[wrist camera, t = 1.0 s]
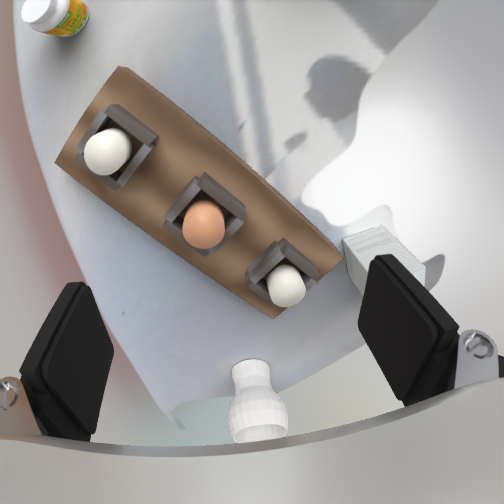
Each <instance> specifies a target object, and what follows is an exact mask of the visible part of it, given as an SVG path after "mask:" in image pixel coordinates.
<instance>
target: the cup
mask: <svg viewBox="0 0 504 504" xmlns="http://www.w3.org/2000/svg"><path fill="white" fill-rule="evenodd" d="M231 374H232V378H233V381H234V384H235V396H234V398H233V400H232V402H231V404H230V408H229V412H228V426H229V429H230V432H231V434H232V437H233V439H234V441H236V442H237V443H245V442H254V441H262V440H269V439H276V438H283V437H284V436H285V435H286V434H287V432H288V414H287V410H286V407H285V405H284V403H283V402H282V400H281V399H280V398H279V396H278V395H277V394H276V393H275V392H274V391H273V389H272V386H271V383H270V367H269V365H268V364H267V363H266V362H264V361H262V360H257V359H249V360H244V361H242V362H239V363H238V364H236V365H235V366H234V367H233V369H232V372H231Z"/></svg>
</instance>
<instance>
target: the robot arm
mask: <svg viewBox="0 0 504 504" xmlns="http://www.w3.org/2000/svg"><path fill="white" fill-rule="evenodd" d="M358 328H359V331H360V332H361V334H362V336H363V338H364V339H365V341H366V343H367V345H368V347H369V348H370V350H371V352H372V354H373V356H374V357H375V359H376V361H377V363H378V365H379V366H380V368H381V370H382V372H383V374H384V375H385V377H386V379H387V381H388V383H389V385H390V387H391V388H392V391H393V392H394V394H395V396H396V398H397V399H398V400H402V402H403V404H404V406H405V407H404V408H401V409H398V410H395V411H392V412H388V413H385V414H382V415H379V416H376V417H372V418H369V419H365V420H362V421H358V422H354V423H351V424H346V425H342V426H339V427H334V428H330V429H325V430H320V431H316V432H311V433H306V434H300V435H295V436H289V437H283V438H276V439H269V440H262V441H254V442H245V443H235V444H223V445H207V446H179V447H160V446H159V447H157V446H156V447H155V446H130V445H116V444H104V443H94V442H90V438H91V434H94V433H95V431H96V427H97V422H98V417H99V412H100V408H101V403H102V399H103V394H104V390H105V386H106V382H107V378H108V374H109V370H110V366H111V363H112V359H113V355H114V348H113V344H112V342H111V340H110V337H109V335H108V332H107V330H106V327H105V325H104V322H103V320H102V317H101V315H100V312H99V310H98V307H97V304H96V302H95V299H94V296H93V293H92V290H91V288H90V287H89V286H86V284H85V283H84V282H71V283H67V284H66V286H65V287H64V289H63V290H62V292H61V294H60V295H59V297H58V299H57V301H56V302H55V304H54V306H53V307H52V309H51V311H50V312H49V314H48V316H47V318H46V320H45V321H44V323H43V325H42V327H41V329H40V330H39V332H38V334H37V336H36V338H35V340H34V342H33V344H32V346H31V348H30V349H29V351H28V353H27V355H26V357H25V360H24V362H23V364H22V366H21V368H20V370H19V371H20V373H21V375H22V376H21V379H20V380H19V379H17V378H15V377H5V378H3V379H0V504H504V357H503V356H500V355H498V350H497V346H496V344H495V342H494V340H493V339H492V338H491V337H490V336H488V335H487V334H485V333H484V332H481V331H478V330H466V331H464V332H463V333H462V334H461V335H459V334H458V333H457V331H458V328H459V325H458V324H457V323H456V322H455V321H454V319H453V318H452V317H451V316H450V315H449V314H448V313H447V311H446V310H445V309H444V308H443V307H442V306H441V305H440V304H439V303H438V301H437V300H436V299H435V298H434V297H433V296H432V295H431V294H430V293H429V291H428V290H427V289H426V288H425V287H424V286H423V285H422V284H421V283H420V282H419V281H418V280H417V279H416V278H415V277H414V276H413V275H412V273H411V272H410V271H409V270H408V269H407V268H406V267H405V266H404V265H403V264H402V263H401V262H400V261H399V260H398V259H397V258H396V257H395V256H394V255H393V254H383V255H376V256H375V258H374V260H371V262H370V264H369V270H368V275H367V280H366V286H365V291H364V296H363V300H362V305H361V310H360V314H359V319H358Z"/></svg>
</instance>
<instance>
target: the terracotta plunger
mask: <svg viewBox="0 0 504 504" xmlns="http://www.w3.org/2000/svg"><path fill="white" fill-rule="evenodd" d="M182 231H183V236H184V238H185V239H186V241H187V242H188V243H189V244H190V245H192V246H194V247H196V248H200V249H208V248H211V247H214V246H216V245H217V244H218V243H219V242H220V241H221V240H222V239H223V236H224V233H225V225H224V214H223V211H222V209H221V208H220V207H219V206H218V205H217V204H216V203H214V202H212V201H208V200H200V201H197V202H195V203H193V204H191V205H190V206H189V208H188V209H187V211H186V213H185V218H184V222H183V228H182Z"/></svg>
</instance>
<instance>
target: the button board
mask: <svg viewBox="0 0 504 504" xmlns="http://www.w3.org/2000/svg"><path fill="white" fill-rule="evenodd" d="M110 128H118V129H121V130H123V131H124V132H125V133H126V134H127V135H128V136H129V138H130V140H131V143H132V152H131V155H130V158H129V159H128V161H127V162H126V163H125V164H123V165H122V166H121V167H120V168H119V169H118V170H117V171H116V172H114V173H112V174H110V175H98V174H96V173H94V172H92V171H91V170H90V169H89V168H88V166H87V164H86V162H85V159H84V149H85V146H86V143H87V142H88V140H89V139H90V138H91V137H92V136H93V135H95V134H97V133H100V132H102V131H104V130H107V129H110ZM55 164H57V165H58V166H59V167H60V168H62V169H63V170H64V171H65V172H67V173H68V174H69V175H70V176H72V177H73V178H74V179H76V180H77V181H78V182H79V183H81V184H82V185H83V186H85V187H86V188H87V189H89V190H90V191H91V192H92V193H94V194H95V195H96V196H98V197H99V198H100V199H102V200H103V201H104V202H106V203H107V204H108V205H110V206H111V207H112V208H114V209H115V210H116V211H118V212H119V213H120V214H122V215H123V216H124V217H126V218H127V219H129V220H130V221H131V222H133V223H134V224H135V225H137V226H138V227H139V228H141V229H142V230H144V231H145V232H146V233H148V234H149V235H151V236H152V237H153V238H155V239H156V240H157V241H159V242H160V243H162V244H163V245H165V246H166V247H167V248H169V249H170V250H172V251H173V252H174V253H176V254H177V255H179V256H180V257H182V258H183V259H184V260H186V261H187V262H189V263H190V264H192V265H193V266H195V267H196V268H197V269H199V270H200V271H202V272H203V273H205V274H206V275H208V276H209V277H211V278H212V279H214V280H215V281H216V282H218V283H219V284H221V285H222V286H224V287H225V288H227V289H228V290H230V291H231V292H233V293H234V294H236V295H237V296H239V297H240V298H242V299H243V300H245V301H246V302H248V303H249V304H251V305H252V306H254V307H256V308H257V309H259V310H260V311H262V312H263V313H265V314H266V315H268V316H269V317H271V318H273V319H274V318H275V317H277V316H278V315H279V314H280V313H281V312H283V311H284V310H285V309H286V308H287V307H280V306H277V305H276V304H274V303H273V302H272V300H271V297H270V293H269V290H268V286H267V276H268V274H269V272H270V271H271V270H272V269H274V268H275V267H277V266H280V265H291V266H294V267H295V268H296V269H297V270H298V271H299V273H300V276H301V278H302V280H303V283H304V285H305V288H306V291H307V290H308V289H310V288H311V287H312V286H313V285H314V284H315V283H316V282H318V281H319V280H320V279H321V278H322V277H323V276H324V275H325V274H327V273H328V272H329V271H330V270H331V269H332V268H333V267H334V266H336V265H337V264H338V263H339V262H340V261H341V260H342V259H343V257H342V256H341V254H340V253H339V251H338V250H337V248H336V247H335V246H334V244H333V243H332V242H331V241H330V240H329V239H328V238H327V237H325V236H324V235H323V234H322V233H321V232H320V231H319V230H318V229H317V228H316V227H315V226H314V225H313V224H312V223H311V222H310V221H309V220H308V219H307V218H306V217H305V216H304V215H303V214H301V213H300V212H299V211H298V210H297V209H296V208H295V207H294V206H293V205H292V204H291V203H290V202H289V201H288V200H286V199H285V198H284V197H283V196H282V195H281V194H280V193H279V192H278V191H277V190H276V189H275V188H273V187H272V186H271V185H270V184H269V183H268V182H267V181H266V180H265V179H263V178H262V177H261V176H260V175H259V174H258V173H257V172H256V171H254V170H253V169H252V168H251V167H250V166H249V165H248V164H246V163H245V162H244V161H243V160H242V159H241V158H240V157H238V156H237V155H236V154H235V153H234V152H233V151H232V150H230V149H229V148H228V147H227V146H226V145H224V144H223V143H222V142H221V141H220V140H219V139H217V138H216V137H215V136H214V135H213V134H211V133H210V132H209V131H208V130H207V129H205V128H204V127H203V126H202V125H201V124H199V123H198V122H197V121H196V120H194V119H193V118H192V117H191V116H190V115H188V114H187V113H186V112H185V111H183V110H182V109H181V108H180V107H178V106H177V105H176V104H175V103H173V102H172V101H171V100H169V99H168V98H167V97H166V96H164V95H163V94H162V93H161V92H159V91H158V90H157V89H155V88H154V87H153V86H151V85H150V84H149V83H147V82H146V81H145V80H144V79H142V78H141V77H140V76H138V75H137V74H136V73H134V72H133V71H131V70H130V69H129V68H126V67H121V66H118V67H117V68H116V70H115V71H114V72H113V74H112V75H111V76H110V77H109V79H108V80H107V81H106V83H105V84H104V85H103V87H102V88H101V89H100V91H99V92H98V94H97V95H96V96H95V98H94V99H93V101H92V102H91V104H90V105H89V107H88V108H87V110H86V111H85V113H84V114H83V116H82V117H81V119H80V120H79V122H78V123H77V125H76V127H75V128H74V130H73V131H72V133H71V135H70V136H69V138H68V140H67V141H66V143H65V145H64V147H63V148H62V150H61V152H60V154H59V155H58V157H57V159H56V161H55ZM200 200H208V201H212V202H214V203H216V204H217V205H218V206H219V207H220V208H221V209H222V211H223V214H224V225H225V233H224V236H223V239H222V240H221V241H220V242H219V243H218V244H217V245H216V246H214V247H211V248H208V249H200V248H196V247H194V246H192V245H190V244H189V243H188V242H187V241H186V239H185V238H184V236H183V231H182V228H183V222H184V218H185V213H186V211H187V209H188V208H189V206H190V205H191V204H193V203H195V202H197V201H200Z"/></svg>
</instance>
